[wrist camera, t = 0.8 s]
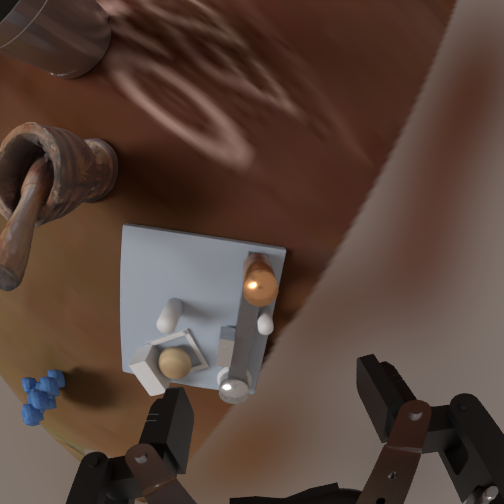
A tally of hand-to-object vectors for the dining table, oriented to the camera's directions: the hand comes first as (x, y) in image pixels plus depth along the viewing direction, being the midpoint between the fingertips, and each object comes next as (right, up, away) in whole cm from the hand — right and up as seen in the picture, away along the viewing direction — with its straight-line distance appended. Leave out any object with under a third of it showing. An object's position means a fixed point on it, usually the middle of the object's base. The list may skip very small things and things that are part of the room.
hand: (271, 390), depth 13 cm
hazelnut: (-10, -6, +23) cm, 26 cm away
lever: (-2, -3, +21) cm, 21 cm away
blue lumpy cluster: (-32, -13, +25) cm, 43 cm away
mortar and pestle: (-18, +14, +18) cm, 30 cm away
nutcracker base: (-8, -1, +23) cm, 24 cm away
